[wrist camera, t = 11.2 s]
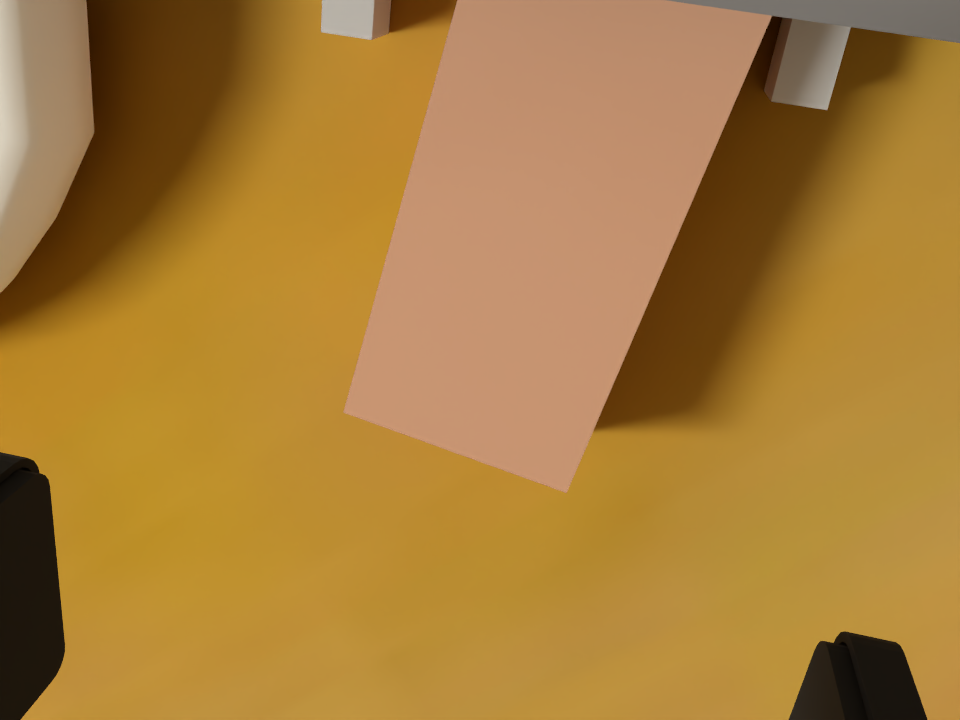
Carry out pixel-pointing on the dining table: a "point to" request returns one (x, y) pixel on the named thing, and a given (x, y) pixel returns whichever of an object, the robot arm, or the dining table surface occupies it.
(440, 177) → the slab
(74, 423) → the dining table surface
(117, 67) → the dining table surface
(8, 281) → the plate
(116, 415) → the dining table surface
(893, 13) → the grey block with tab
